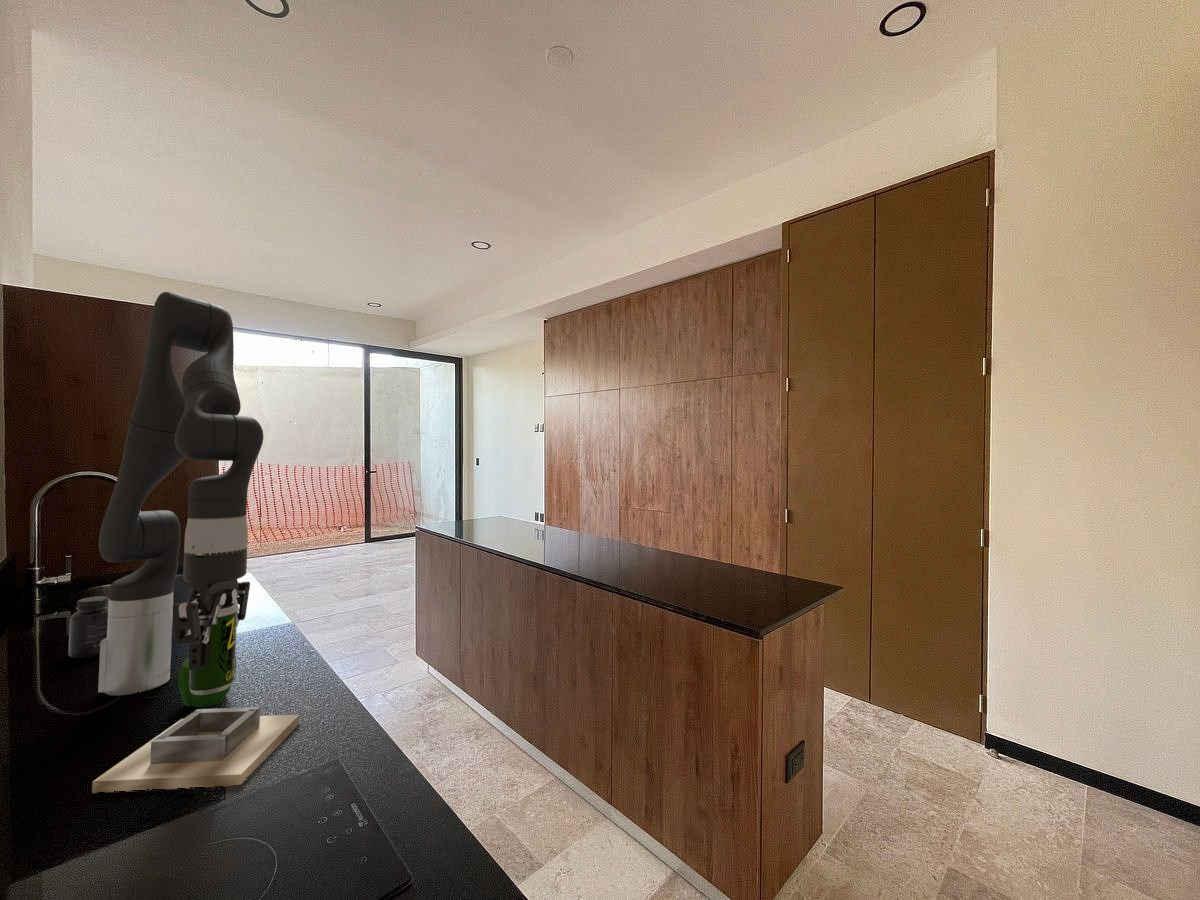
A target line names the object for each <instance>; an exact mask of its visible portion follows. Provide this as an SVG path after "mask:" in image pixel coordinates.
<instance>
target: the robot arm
mask: <svg viewBox="0 0 1200 900" xmlns="http://www.w3.org/2000/svg"><path fill="white" fill-rule="evenodd" d="M233 325H234V323H233V319H232V317H231V315H230V312H229V311H228V310H227V309H226V308H224V307H222V306H220V305H218V304H214V303H212V302H208V301H204V300H201V299H197V298H194V297H190V296H186V295H183V294H179V293H176V292H171V291H163V292H161V293H160V294H159V295H158V296H157V298H156V300H155V302H154V305H153V308H152V311H151V315H150V321H149V326H148V328H149V329H148V334H147V341H146V348H145V355H144V356H145V357H144V362H143V368H142V373H141V374H142V375H141V377H140V382H139V385H138V390H137V393H136V397H135V400H134V404H133V408H132V411H131V415H130V419H129V423H128V427H127V432H126V437H125V441H124V446H123V447H124V448H123V452H122V457H121V461H120V467H119V470H118V475H117V479H116V482H115V485H114V489H113V491H112V494H111V497H110V500H109V502H108V505H107V509H106V511H105V514H104V516H103V519H102V520H103V521H102V523H101V527H100V530H99V535H98V551H99V554H100V556H101V558H102V559H103V560H104V561H106V562H108V563H124V562H127V563H128V562H132V561H133V562H134V561H140V560H145V561H144V563H143V565H141V566H140V567H138V569H137V570H134V571H133V572H131V573H130V574H128V575H125V576H123V577H121V578H118V579H116V580H115V581H112V583H111V584H110V585H109V587H108V606H107V608H108V626H107V638H106V639H103V640H102V641H101V643H100V655H99V668H98V669H99V670H98V686H97V688H98V690H97V692H98V693H103V694H106V695H107V696H127V695H133V693H134V694H138V693H137V692H139V693H143V692H145V691H146V690H147V691H150V690H153V689H155V688H158V687H160V686H162V685H165V684H166V683H168V682H169V680H170V679H171V662H172V661H171V658H172V639H173V638H172V636H173V624H174V632H175V640H176V644H177V645H188V646H189V647H188V650H189V651H188V658H189V669H190V670H192V671H194V670H204V669H206V668H207V667H208V666H209V650H210V642H209V639H210V635H211V632H212V627H213V626H216V625H217V618H218V614H219V612H220V611H219V609H221V608H222V607H226V606H227V605H228V604H231V606H232V605H233V603H235V608H236V609H237V627H236V629H237V628H238V626H239V624H240V621H243V620H244V621H245V619H246V615H247V609H248V602H249V601H248V600H249V594H250V587H251V582H250V581H238V580H239V579H240V578H243V577H245V575H246V574H247V567H248V565H247V563H248V559H247V558H248V541H249V539H248V537H249V530H248V529H249V528H248V522H247V521H248V520H247V513H248V512H247V511H248V510H247V509H248V507H247V506H248V490H249V484H250V479H251V476H252V473H253V470H254V467H255V464H256V461H257V458H258V457H259V454H260V453H261V449H262V446H263V442H264V430H263V428H262V425H261V424H260V422H259V421H258V420H257V419H255V418H254V417H252V416H249V415H248V416H247V415H246V416H245V415H239V414H240V413H241V412H240V411H241V405H242V404H241V400H240V399H241V398H240V395H239V392H238V387H237V384H236V380H235V374H234V326H233ZM173 347H177V348H182V349H186V350H191V351H194V352H195V351H196V352H199V353H205V354H203V355H202V356H200V357H198V358H197V359H196V360H194V361H193V362H191V363H190V364H189V366H187V368H186V369H185V371H184V372H183V374H182V378H181V385H180V383H179V382H180V381H178V378H177V376H176V373H175V370H174V368H173V367H174V366H173V363H172V348H173ZM186 458H187V459H188V460H191V461H206V462H207V461H212V462H213V461H215V462H218V461H220V462H222V461H224V462H225V461H227V462H228V461H229V462H230V461H231V465H230V467H229V468H228V469H227V470H226V471H225V472H223V473H220V474H217V475H216V474H215V475H210V476H204V477H199V478H195V479H194V480H192V481H191V482H190V483H189V484H190V485H189V487H188V498H187V499H188V501H187V503H188V504H187V505H188V507H187V522H186V527H185V532H184V542H183V543H184V544H183V545H184V546H183V547H184V549H183V550H184V551H183V569H182V571H183V572H182V573H183V575H182V579H183V581H184V582H185V583H188V584H190V585H191V591H190V593H189V596H188V599H187V600H186V601H185V602H177V603H176V602H175V603H174V590H175V589H174V588H175V582H176V579H177V573H178V564H179V553H180V544H181V531H182V530H181V523H180V520H179V517H178V516H177V515H176V514H175V512H173V511H171V510H165V509H164V510H163V509H162V510H161V509H159V510H147V511H141V510H142V507H143V505H144V503H145V501H146V499H147V497H148V496H149V495H150V494H151V492H152V491H153V490H154V488H156V486H157V485H159V484H160V482H162V481H163V480H164V479H165V478H167V477H168V476H169V475H170V474H171V473H172V472H173V471H174V470H175V469H176V468H178V466H179V465H180V464H181V463H182V462H183V461H185V459H186ZM209 615H211V616H210V618H209V619H208V620H199V616H209ZM200 626H204V629H203V633H202V635H201V629H200ZM186 630H187V632H186ZM142 691H143V692H142ZM147 691H146V692H147Z"/></svg>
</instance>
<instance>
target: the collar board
mask: <svg viewBox="0 0 1200 900" xmlns="http://www.w3.org/2000/svg"><path fill="white" fill-rule="evenodd" d="M299 725H300V714H282V715H281V714H280V715H279V714H277V715H276V714H275V715H261V707H260V706H257V707H256V706H253V707H251V706H250V707H225V708H224V707H223V708H197V709H195V710H193V712H191V713H190V714H189V715H187V716H185V717H184V718H180V719H179V720H178V721H176V723H174V724H172V725H171V726H169V727H168V728H166V729H165V730H163V731H162V732H161V733H160V734H158V735H157V736H155V737H153V738H152V739H151V740H149V741H148V742H147V743H145V744H144V745H142V746H141V747H139V748H138V749H136V750H135V751H133V752H132V753H131V754H129V755H128V756H127V757H125V758H124V759H122V760H121V761H119V762H118V763H117V764H115V765H114V766H112V767H111V768H110V769H108V770H106V771H105V772H104V773H103V774H100V776H98V777H97V778H96V779H93V780H92V786H91V793H92V794H100V793H99V792H105V793H120V792H119V791H125V792H134V791H133V790H145V791H153V790H152V789H156V790H155V791H158V790H157V789H165V790H178V789H177V788H185V789H191V788H190V787H193V788H192V789H195V788H194V787H205V788H216V787H215V786H218V787H217V788H219V786H222V787H223V786H224V787H234V786H233V785H241V784H242V783H243V781H245V780H247V779H248V778H249V777H250V776H251V775H252V774H253V773H254V772H255V771H256V770H257V769H258V768H259V767H260V766H261V765H262V764H263V763H262V762H263V761H266V760H267V758H269V756H270V755H271V754H272V753H273V752H274V751H275V750H276V749H277V748H278V746H280V745H281V744H282V743H283V741H284V740H285V739H287V737H289V735H290V734H291V733H292V732H293V731H294V730H295V729H296V728H297V727H298V726H299ZM261 763H262V764H261ZM260 764H261V765H260ZM259 765H260V766H259ZM258 766H259V767H258ZM257 767H258V768H257ZM256 768H257V769H256ZM255 769H256V770H255ZM254 770H255V771H254ZM253 771H254V772H253ZM252 772H253V773H252ZM251 773H252V774H251ZM250 774H251V775H250ZM249 775H250V776H249ZM248 776H249V777H248ZM247 777H248V778H247ZM246 778H247V779H246ZM243 784H244V783H243ZM243 784H242V785H243ZM242 785H241V786H242ZM147 789H149V790H147ZM131 790H132V791H131ZM114 791H116V792H114ZM117 791H118V792H117ZM97 792H98V793H97Z"/></svg>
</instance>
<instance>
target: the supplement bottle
mask: <svg viewBox="0 0 1200 900" xmlns="http://www.w3.org/2000/svg"><path fill="white" fill-rule="evenodd" d="M108 603H109V596H104V595H100V596H99V595H98V596H97V595H96V596H90V597H84V598H81V599H78V600H77V603H76V611H77V612H74V613H73V614H72V615H71V616H70V618H69V631H68V632H69V633H68V635H69V636H68V656H69V657H70V658H72V659H85V658H86V659H87V658H91V657H97V656H100V643H101V641H102V640H103V639H106V638H107V626H108Z"/></svg>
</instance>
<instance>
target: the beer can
mask: <svg viewBox="0 0 1200 900" xmlns="http://www.w3.org/2000/svg"><path fill="white" fill-rule="evenodd" d="M219 611H220V612H219V614H218V618H217V625H216V626H213V627H212V632H211V635H210V639H209V642H210V650H209V666H208V667H207V668H206V669H204V670H194V671H192V670H190V672H189V689H190V691H191V693H192V694H194V695H207V694H212V693H217V692H220V691H223V690H225V689H227V688H229V687H230V686H231V687H232V685H233V683H234V681H235V677H236V672H235V657H236V653H237V651H236V650H237V649H236V648H237V647H236V645H237V628H238V626H237V609H236V608H235V603H233V605H232V606H231V604H228V605H227V606H226V607H222V608H221V609H219ZM210 616H211V615H209V616H199V620H208V619H209V618H210ZM236 627H237V628H236ZM200 629H201V635H202V633H203V629H204V626H200ZM231 687H230V688H231Z"/></svg>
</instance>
